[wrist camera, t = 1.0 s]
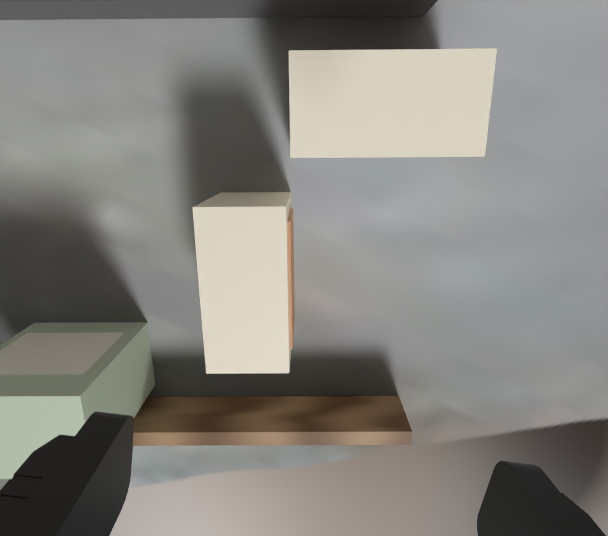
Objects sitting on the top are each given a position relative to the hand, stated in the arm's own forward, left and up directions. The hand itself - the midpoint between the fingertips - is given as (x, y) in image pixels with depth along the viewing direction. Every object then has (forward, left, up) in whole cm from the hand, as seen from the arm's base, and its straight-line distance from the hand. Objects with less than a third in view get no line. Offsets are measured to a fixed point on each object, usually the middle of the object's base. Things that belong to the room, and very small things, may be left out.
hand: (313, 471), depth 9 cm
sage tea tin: (+15, +7, -19) cm, 26 cm away
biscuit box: (+3, 0, -19) cm, 20 cm away
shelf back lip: (+6, +11, -19) cm, 23 cm away
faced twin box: (-4, -9, -19) cm, 21 cm away
